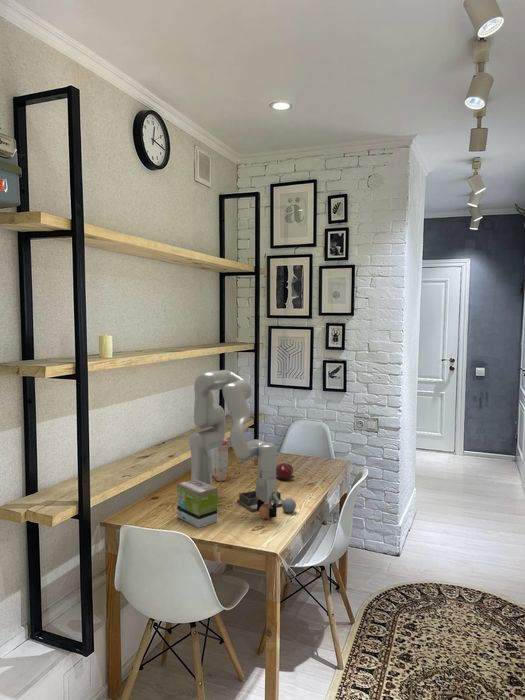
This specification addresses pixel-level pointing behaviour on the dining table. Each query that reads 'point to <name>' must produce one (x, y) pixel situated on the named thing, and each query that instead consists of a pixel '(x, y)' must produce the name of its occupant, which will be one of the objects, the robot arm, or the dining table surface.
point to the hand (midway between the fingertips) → (266, 513)
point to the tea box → (197, 502)
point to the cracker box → (220, 461)
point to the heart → (284, 471)
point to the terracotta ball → (264, 511)
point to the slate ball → (288, 505)
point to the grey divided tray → (253, 500)
